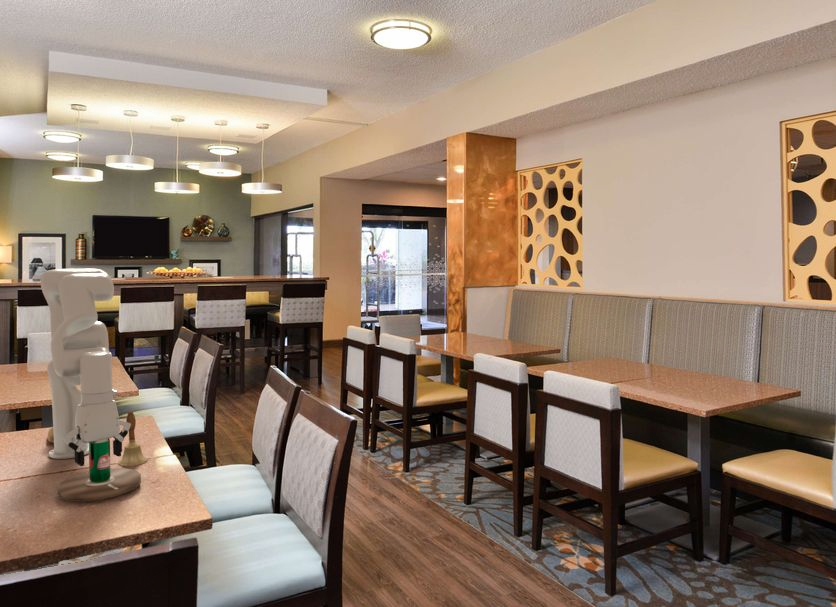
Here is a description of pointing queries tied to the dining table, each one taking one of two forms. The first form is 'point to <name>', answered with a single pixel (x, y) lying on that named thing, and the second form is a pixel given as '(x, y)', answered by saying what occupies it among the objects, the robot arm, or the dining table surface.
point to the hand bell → (132, 447)
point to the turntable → (98, 485)
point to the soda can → (99, 460)
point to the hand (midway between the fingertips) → (99, 460)
